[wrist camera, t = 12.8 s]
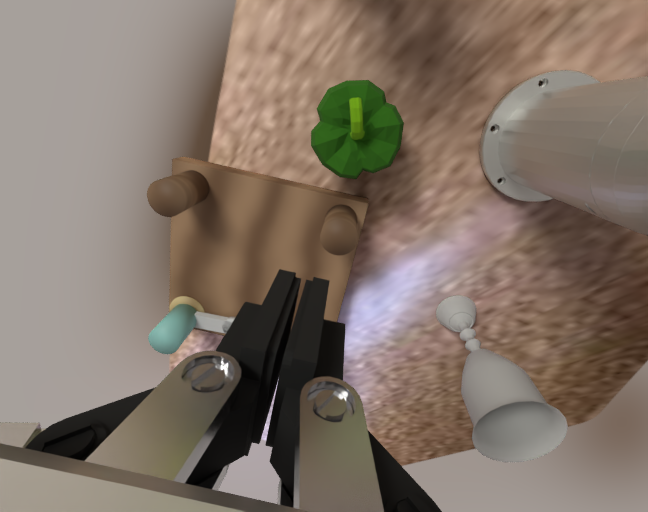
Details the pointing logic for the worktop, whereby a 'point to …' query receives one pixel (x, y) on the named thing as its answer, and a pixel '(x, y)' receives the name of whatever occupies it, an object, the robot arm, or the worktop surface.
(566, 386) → the worktop surface
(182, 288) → the footstool
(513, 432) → the chalice
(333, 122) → the bell pepper
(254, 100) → the worktop surface
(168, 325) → the cylinder
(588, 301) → the worktop surface
